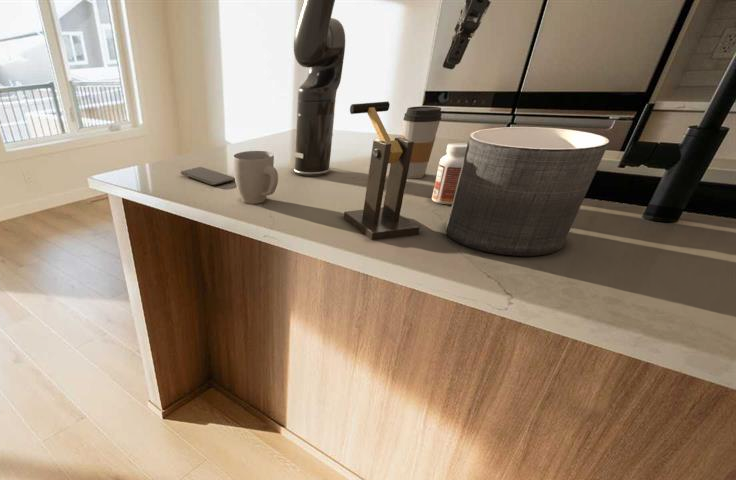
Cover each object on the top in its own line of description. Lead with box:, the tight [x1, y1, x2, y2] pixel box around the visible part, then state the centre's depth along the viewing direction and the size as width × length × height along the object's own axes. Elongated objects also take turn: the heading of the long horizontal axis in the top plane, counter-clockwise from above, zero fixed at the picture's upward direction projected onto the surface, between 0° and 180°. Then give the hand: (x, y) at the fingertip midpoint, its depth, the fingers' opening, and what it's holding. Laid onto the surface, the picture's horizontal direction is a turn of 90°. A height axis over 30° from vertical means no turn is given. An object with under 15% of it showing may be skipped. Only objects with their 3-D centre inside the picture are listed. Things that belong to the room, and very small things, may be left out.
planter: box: [445, 126, 610, 257], centre depth 69 cm, size 18×18×16 cm
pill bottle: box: [431, 142, 468, 206], centre depth 87 cm, size 6×6×11 cm
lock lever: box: [349, 101, 403, 165], centre depth 75 cm, size 14×7×2 cm
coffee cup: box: [401, 105, 443, 179], centre depth 103 cm, size 8×8×15 cm
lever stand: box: [343, 136, 421, 241], centre depth 76 cm, size 12×9×15 cm
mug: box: [232, 150, 279, 205], centre depth 93 cm, size 12×9×10 cm
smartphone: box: [180, 166, 235, 186], centre depth 114 cm, size 7×1×16 cm
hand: (449, 66), depth 77 cm, fingers open, 8 cm apart
